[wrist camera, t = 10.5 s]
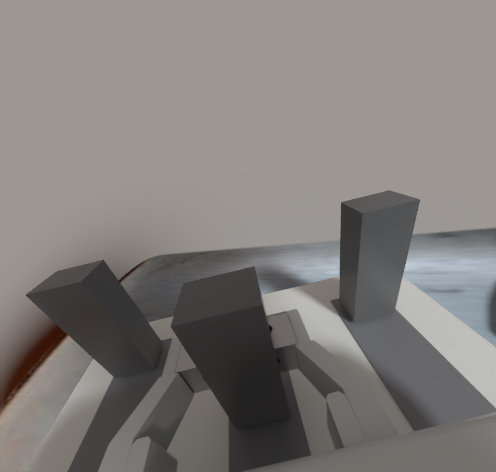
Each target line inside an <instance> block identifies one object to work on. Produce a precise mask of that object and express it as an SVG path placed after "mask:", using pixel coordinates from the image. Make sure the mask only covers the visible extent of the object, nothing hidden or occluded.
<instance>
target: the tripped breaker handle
mask: <svg viewBox="0 0 496 472" xmlns="http://www.w3.org/2000/svg"><path fill="white" fill-rule="evenodd" d="M170 327H171V328H172V330H173V331H174V333H175V334H176V336H177V338H178V339H179V341H180V342H181V344H182V345H183V347H184V349H185V350H186V352H187V353H188V355H189V356H190V358H191V360H192V361H193V363H194V364H195V366H196V367H197V369H198V370H199V372H200V374H201V375H202V377H203V378H204V380H205V381H206V383H207V385H208V386H209V388H210V389H211V391H212V392H213V394H214V395H215V397H216V399H217V400H218V402H219V403H220V405H221V406H222V408H223V410H224V411H225V413H226V414H227V416H228V417H229V419H230V420H231V422H232V424H233V425H234V427H235V428H236V430H237V429H241V428H245V427H250V426H254V425H258V424H263V423H267V422H271V421H275V420H280V419H284V418H288V417H291V413H290V409H289V404H288V400H287V396H286V392H285V387H284V383H283V379H282V374H281V372H280V370H279V366H278V362H277V358H276V354H275V350H274V346H273V342H272V337H271V332H270V328H269V324H268V320H267V315H266V311H265V307H264V303H263V299H262V295H261V291H260V287H259V283H258V279H257V275H256V271H255V267H251V268H246V269H242V270H238V271H234V272H230V273H226V274H221V275H217V276H213V277H209V278H205V279H201V280H196V281H192V282H188V283H184V284H183V287H182V290H181V294H180V297H179V300H178V303H177V307H176V310H175V313H174V316H173V320H172V323H171V326H170Z"/></svg>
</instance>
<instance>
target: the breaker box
mask: <svg viewBox="0 0 496 472" xmlns="http://www.w3.org/2000/svg"><path fill="white" fill-rule="evenodd" d="M339 287H340V277H335V278H331V279H327V280H323V281H319V282H314V283H310V284H306V285H302V286H298V287H293V288H289V289H285V290H281V291H277V292H272V293H268V294H264V295H262V299H263V303H264V307H265V311H266V315H267V316H269V315H272V314H276V313H280V312H284V311H289V310H293V309H297V310H298V312H299V314H300V317H301V319H302V322H303V324H304V326H305V329H306V331H307V333H308V336H309V338H310V340H311V341H312V340H314V341H316V342H317V343H318V344H320V345H321V346H322V347H323V348H325V349H326V350H327V351H328V352H330V353H331V354H332V355H334V356H335V357H336V358H337V359H339V360H340V361H341V362H342V363H344V364H345V365H346V366H348V367H349V368H350V369H351V370H353V371H354V372H355V373H356V374H358V375H359V376H360V377H362V378H363V379H364V380H365V381H367V382H368V383H369V384H370V386H371V388H372V390H373V391H374V393H375V395H376V396H377V398H378V400H379V401H380V403H381V405H382V407H383V408H384V410H385V412H386V413H387V415H388V417H389V418H390V420H391V422H392V423H393V425H394V427H395V429H396V430H397V432H398V434H399V435H400V434H404V433H408V432H412V431H417V430H421V429H425V428H430V427H434V426H438V425H442V424H447V423H451V422H455V421H459V420H464V419H468V418H472V417H477V416H481V415H485V414H489V413H494V412H496V347H494V346H493V345H492V344H490V343H489V342H488V341H487V340H485V339H484V338H483V337H481V336H480V335H479V334H477V333H476V332H475V331H473V330H472V329H471V328H470V327H468V326H467V325H466V324H464V323H463V322H462V321H460V320H459V319H458V318H456V317H455V316H454V315H453V314H451V313H450V312H449V311H447V310H446V309H445V308H443V307H442V306H441V305H439V304H438V303H437V302H436V301H434V300H433V299H432V298H430V297H429V296H428V295H426V294H425V293H424V292H422V291H421V290H420V289H419V288H417V287H416V286H415V285H413V284H412V283H411V282H409V281H408V280H407V279H406V278H404V277H402V281H401V286H400V290H399V294H398V299H397V303H396V308H395V312H394V313H390V314H386V315H382V316H378V317H373V318H369V319H365V320H361V321H356V322H354V321H353V320H352V319H351V317H350V316H349V314H348V313H347V311H346V310H345V309H344V307H343V306H342V304H341V303H340V301H339ZM172 320H173V316H172V317H168V318H164V319H159V320H155V321H151V322H148V323H149V324H150V326H151V327H152V328H153V330H154V331H155V333H156V334H157V335H158V337H159V338H160V340H161V341H162V342H163V344H162V347H161V350H160V353H159V357H158V360H157V363H156V366H155V369H153V370H149V371H145V372H140V373H136V374H132V375H128V376H123V377H119V378H114V377H113V376H112V375H111V374H110V373H109V372H108V371H107V370H106V369H104V368H103V367H102V366H101V365H100V364H99V363H98V362H97V361H96V360H95V359H94V358H93V360H92V362H91V363H90V365H89V367H88V368H87V370H86V371H85V373H84V375H83V376H82V378H81V379H80V381H79V383H78V384H77V386H76V388H75V389H74V391H73V392H72V394H71V396H70V397H69V399H68V401H67V402H66V404H65V405H64V407H63V409H62V410H61V412H60V414H59V415H58V417H57V418H56V420H55V422H54V423H53V425H52V426H51V428H50V430H49V431H48V433H47V435H46V436H45V438H44V439H43V441H42V443H41V444H40V446H39V448H38V449H37V451H36V452H35V454H34V456H33V457H32V459H31V460H30V462H29V464H28V465H27V467H26V469H25V470H24V472H98V470H99V468H100V465H101V463H102V460H103V458H104V455H105V452H106V450H107V447H108V445H109V443H110V442H111V440H112V439H113V438H114V437H115V435H116V434H117V433H118V431H119V430H120V429H121V427H122V426H123V425H124V423H125V422H126V421H127V419H128V418H129V417H130V415H131V414H132V413H133V411H134V410H135V409H136V407H137V406H138V405H139V403H140V402H141V401H142V399H143V398H144V397H145V396H146V394H147V393H148V392H149V390H150V389H151V388H152V386H153V385H154V384H155V382H156V381H157V380H158V378H159V377H162V376H163V373H164V370H165V366H166V362H167V359H168V355H169V351H170V348H171V344H172V341H173V340H174V338H177V336H176V334H175V333H174V331H173V330H172V328H171V327H170V326H171V323H172ZM281 374H282V379H283V383H284V387H285V392H286V396H287V400H288V404H289V409H290V413H291V417H288V418H284V419H280V420H275V421H271V422H267V423H263V424H258V425H254V426H250V427H245V428H241V429H237V430H236V428H235V427H234V425H233V424H232V422H231V420H230V419H229V417H228V416H227V414H226V413H225V411H224V410H223V408H222V406H221V405H220V403H219V402H218V400H217V399H216V397H215V395H214V394H213V392H212V391H211V389H209V390H205V391H201V392H198V393H194V397H193V399H192V401H191V403H190V405H189V407H188V409H187V411H186V413H185V415H184V417H183V419H182V421H181V423H180V425H179V427H178V429H177V431H176V433H175V435H174V437H173V439H172V441H171V443H170V445H169V447H168V449H167V451H168V452H169V453H171V454H172V455H173V456H174V457H176V459H177V461H178V465H177V472H242V471H246V470H250V469H255V468H259V467H263V466H267V465H272V464H276V463H280V462H284V461H289V460H293V459H297V458H302V457H306V456H310V455H314V454H319V453H323V452H327V451H331V450H335V447H334V444H333V442H332V439H331V436H330V433H329V430H328V427H327V406H326V399H325V398H324V397H323V396H322V395H321V394H320V392H319V391H318V390H317V389H316V388H315V387H314V386H313V385H312V384H311V383H310V381H309V380H308V379H307V378H306V377H305V376H304V375H303V374H302V373H301V372H300V370H299V369H294V370H289V371H285V372H281Z"/></svg>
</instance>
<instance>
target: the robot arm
mask: <svg viewBox="0 0 496 472" xmlns="http://www.w3.org/2000/svg"><path fill="white" fill-rule="evenodd" d="M267 320H268V324H269V328H270V332H271V337H272V342H273V346H274V350H275V354H276V358H277V362H278V366H279V370H280V372H285V371H289V370H294V369H299V370H300V372H301V373H302V374H303V375H304V376H305V377H306V378H307V379H308V380H309V381H310V383H311V384H312V385H313V386H314V387H315V388H316V389H317V390H318V391H319V392H320V394H321V395H322V396H323V397H324V398H325V399H326V406H327V427H328V430H329V433H330V436H331V439H332V442H333V444H334V447H335V450H331V451H327V452H323V453H319V454H314V455H310V456H306V457H302V458H297V459H293V460H289V461H284V462H280V463H276V464H272V465H267V466H263V467H259V468H255V469H250V470H246V471H242V472H496V412H494V413H489V414H485V415H481V416H477V417H472V418H468V419H464V420H459V421H455V422H451V423H447V424H442V425H438V426H434V427H430V428H425V429H421V430H417V431H412V432H408V433H404V434H400V435H399V434H398V432H397V430H396V429H395V427H394V425H393V423H392V422H391V420H390V418H389V417H388V415H387V413H386V412H385V410H384V408H383V407H382V405H381V403H380V401H379V400H378V398H377V396H376V395H375V393H374V391H373V390H372V388H371V386H370V384H369V383H368V382H367V381H365V380H364V379H363V378H362V377H360V376H359V375H358V374H356V373H355V372H354V371H353V370H351V369H350V368H349V367H348V366H346V365H345V364H344V363H342V362H341V361H340V360H339V359H337V358H336V357H335V356H334V355H332V354H331V353H330V352H328V351H327V350H326V349H325V348H323V347H322V346H321V345H320V344H318V343H317V342H316V341H314V340H312V341H311V340H310V338H309V336H308V333H307V331H306V329H305V326H304V324H303V322H302V319H301V317H300V314H299V312H298V310H297V309H293V310H289V311H284V312H280V313H276V314H272V315H269V316H267ZM209 389H210V388H209V386H208V385H207V383H206V381H205V380H204V378H203V377H202V375H201V374H200V372H199V370H198V369H197V367H196V366H195V364H194V363H193V361H192V360H191V358H190V356H189V355H188V353H187V352H186V350H185V349H184V347H183V345H182V344H181V342H180V341H179V339H178V338H174V340H173V341H172V344H171V348H170V351H169V355H168V359H167V362H166V366H165V370H164V373H163V376H162V377H159V378H158V380H157V381H156V382H155V384H154V385H153V386H152V388H151V389H150V390H149V392H148V393H147V394H146V396H145V397H144V398H143V399H142V401H141V402H140V403H139V405H138V406H137V407H136V409H135V410H134V411H133V413H132V414H131V415H130V417H129V418H128V419H127V421H126V422H125V423H124V425H123V426H122V427H121V429H120V430H119V431H118V433H117V434H116V435H115V437H114V438H113V439H112V440H111V442H110V443H109V445H108V447H107V450H106V452H105V455H104V458H103V460H102V463H101V465H100V468H99V470H98V472H177V465H178V461H177V459H176V457H174V456H173V455H172V454H171V453H169V452H168V451H167V449H168V447H169V445H170V443H171V441H172V439H173V437H174V435H175V433H176V431H177V429H178V427H179V425H180V423H181V421H182V419H183V417H184V415H185V413H186V411H187V409H188V407H189V405H190V403H191V401H192V399H193V397H194V393H198V392H201V391H205V390H209Z"/></svg>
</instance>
